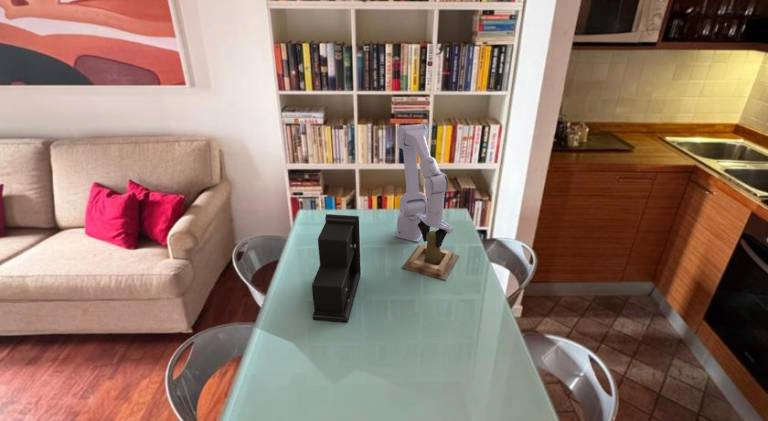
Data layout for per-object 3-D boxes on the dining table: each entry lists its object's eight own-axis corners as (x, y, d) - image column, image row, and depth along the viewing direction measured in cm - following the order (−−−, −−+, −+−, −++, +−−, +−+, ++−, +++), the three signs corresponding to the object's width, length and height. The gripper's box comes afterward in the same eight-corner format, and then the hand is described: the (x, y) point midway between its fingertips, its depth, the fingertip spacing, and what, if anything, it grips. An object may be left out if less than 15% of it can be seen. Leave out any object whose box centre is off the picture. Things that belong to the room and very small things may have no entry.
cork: (440, 265, 143) (440, 238, 138) (423, 262, 145) (422, 236, 139) (442, 255, 148) (443, 229, 143) (426, 253, 150) (426, 227, 144)
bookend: (348, 323, 119) (344, 256, 108) (312, 320, 120) (304, 254, 109) (361, 275, 140) (359, 215, 129) (330, 273, 141) (326, 213, 130)
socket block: (401, 268, 143) (401, 262, 142) (418, 245, 156) (418, 240, 155) (445, 280, 137) (445, 274, 136) (459, 256, 150) (459, 250, 148)
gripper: (459, 212, 135) (456, 246, 141) (424, 198, 143) (423, 231, 150) (447, 219, 130) (444, 255, 136) (412, 205, 139) (410, 239, 145)
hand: (432, 243), depth 143 cm, fingers closed on cork, 5 cm apart
